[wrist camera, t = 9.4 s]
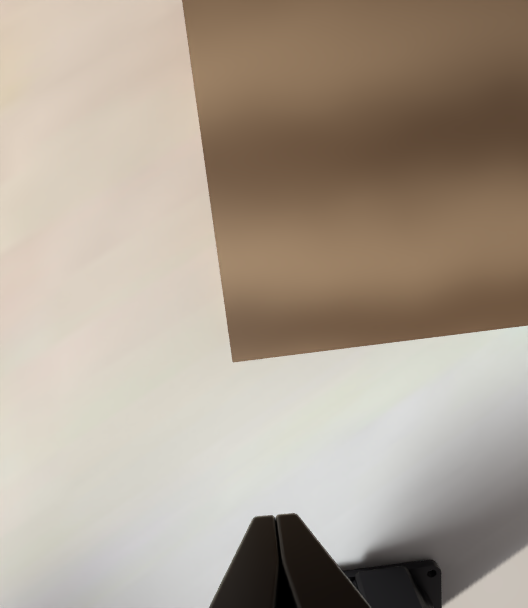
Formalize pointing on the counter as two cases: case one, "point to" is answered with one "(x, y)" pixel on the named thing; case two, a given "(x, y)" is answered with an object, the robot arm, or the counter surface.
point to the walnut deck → (364, 167)
